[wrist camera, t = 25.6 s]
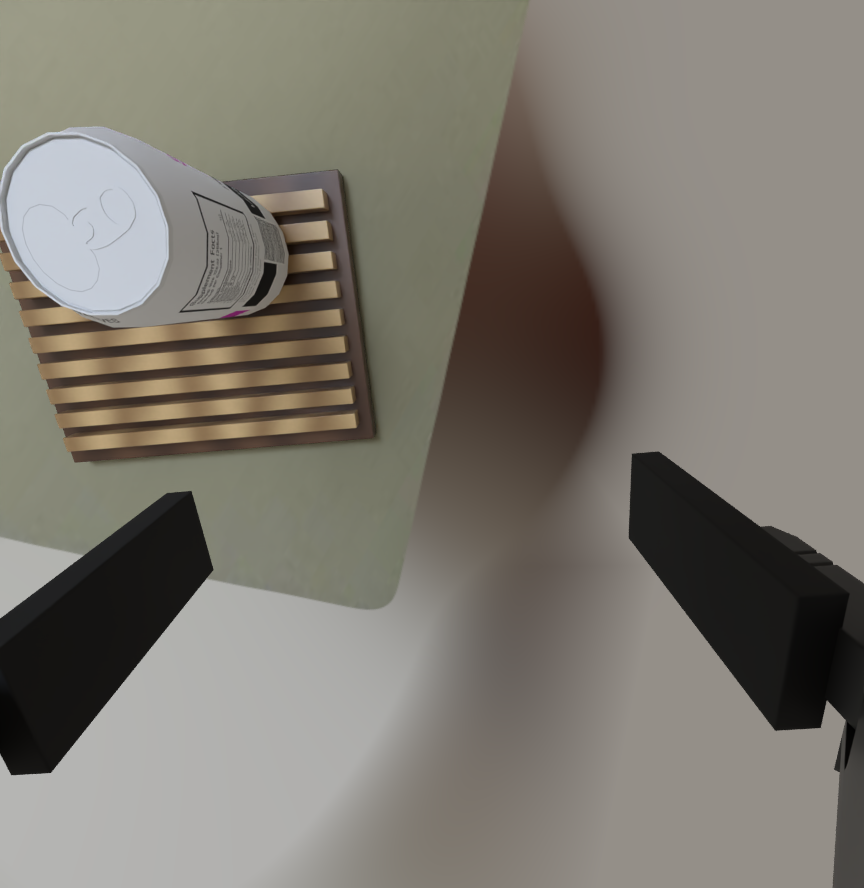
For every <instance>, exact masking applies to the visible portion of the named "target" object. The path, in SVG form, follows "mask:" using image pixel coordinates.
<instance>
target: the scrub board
mask: <svg viewBox="0 0 864 888" xmlns="http://www.w3.org/2000/svg"><path fill="white" fill-rule="evenodd" d="M223 183H225V184H226V185H228V186H230V187H232V188H234V189H236V190H238V191H240V192H242V193H244V194H246V195H248V196H250V197H252V198H253V199H255V200H256V201H257V202H258V203H259V204H261V205H262V206H263V207H264V208H265V209H267V210H268V211H269V212H270V213H271V214H272V216H273V218H274V219H275V221H276V222H277V224H278V225H279V227H280V229H281V230H282V232H283V235H284V239H285V242H286V246H287V250H288V254H289V256H288V272H287V277H286V280H285V282H284V284H283V286H282V289H281V291H280V293H279V295H278V296H277V297H276V298H275V299H274V300H273V301H272V302H271V303H270V304H269V305H268V306H267V307H266V308H263V309H261V310H259V311H256V312H254V313H251V314H249V315H242V316H234V317H225V318H217V319H208V320H200V321H191V322H183V323H174V324H166V325H157V326H149V327H115V328H113V327H110V326H107V325H104V324H102V323H99V322H96V321H93V320H90V319H87V318H84V317H82V316H80V315H79V314H78V313H76V312H75V311H73V310H72V309H69V308H66V307H63V306H61V305H60V304H58V303H57V302H55V301H54V300H53V299H51V298H50V297H48V296H47V295H46V294H44V293H43V292H41V291H40V290H39V289H37V288H36V287H35V286H34V285H33V284H32V283H31V281H30V280H29V279H28V278H27V276H26V275H25V274H24V273H23V271H22V270H21V269H20V268H19V266H18V265H17V264H16V263H15V261H14V259H13V257H12V255H11V253H10V250H9V248H8V246H7V243H6V241H5V239H4V236H3V234H2V232H1V227H0V247H1V250H2V253H0V258H1V261H2V264H3V267H4V270H5V271H9V273H10V276H11V279H12V282H11V283H9V284H10V287H11V290H12V293H13V296H14V298H15V299H16V300H19V302H20V305H21V308H22V311H19V313H20V316H21V319H22V321H23V324H24V327H28V328H29V331H30V334H31V337H32V338H28V339H29V342H30V345H31V348H32V351H33V353H34V354H38V357H39V360H40V363H41V364H37V366H38V368H39V371H40V374H41V377H42V379H43V380H44V379H46V381H47V384H48V386H49V389H47V390H46V391H47V394H48V397H49V400H50V403H51V404H55V407H56V410H57V414H55V417H56V420H57V423H58V426H59V428H63V430H64V433H65V436H66V437H65V438H63V440H64V443H65V446H66V449H67V451H68V452H71V453H72V456H73V459H74V462H88V461H100V460H112V459H124V458H136V457H149V456H161V455H173V454H185V453H197V452H210V451H222V450H234V449H246V448H258V447H271V446H283V445H295V444H307V443H320V442H332V441H344V440H356V439H368V438H374V436H375V434H376V430H375V422H374V414H373V407H372V399H371V392H370V384H369V376H368V369H367V361H366V354H365V346H364V338H363V331H362V323H361V316H360V308H359V300H358V293H357V285H356V278H355V270H354V262H353V255H352V247H351V240H350V232H349V224H348V217H347V209H346V202H345V194H344V186H343V179H342V174H341V173H340V172H339V171H338V170H329V171H319V172H310V173H300V174H291V175H281V176H272V177H262V178H253V179H243V180H234V181H224V182H223Z"/></svg>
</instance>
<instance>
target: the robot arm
mask: <svg viewBox="0 0 864 888" xmlns="http://www.w3.org/2000/svg"><path fill="white" fill-rule="evenodd" d="M629 539H630V540H631V541H632V543H633V544H634V545H635V546H636V548H637V549H638V551H639V552H640V553H641V555H642V556H643V557H644V558H645V560H646V561H647V562H648V564H649V565H650V566H651V568H652V569H653V570H654V571H655V573H656V574H657V576H658V577H659V578H660V580H661V581H662V582H663V584H664V585H665V586H666V588H667V589H668V590H669V591H670V593H671V594H672V595H673V597H674V598H675V599H676V601H677V602H678V603H679V605H680V606H681V607H682V609H683V610H684V611H685V612H686V614H687V615H688V616H689V618H690V619H691V620H692V622H693V623H694V624H695V626H696V627H697V628H698V630H699V631H700V632H701V634H702V635H703V636H704V637H705V639H706V640H707V641H708V643H709V644H710V645H711V646H712V648H713V649H714V651H715V652H716V653H717V655H718V656H719V657H720V659H721V660H722V661H723V662H724V664H725V665H726V666H727V668H728V669H729V670H730V672H731V673H732V674H733V675H734V677H735V678H736V679H737V681H738V682H739V684H740V685H741V686H742V687H743V689H744V690H745V691H746V693H747V694H748V695H749V697H750V698H751V699H752V701H753V702H754V703H755V705H756V706H757V707H758V709H759V710H760V711H761V712H762V714H763V715H764V716H765V718H766V719H767V720H768V722H769V723H770V724H771V725H772V727H773V728H774V730H776V731H777V730H792V729H810V728H821V724H822V719H823V714H824V710H825V705H826V701H828V702H829V703H830V704H831V705H832V706H833V707H834V708H835V709H836V710H837V711H838V712H839V713H840V714H841V715H842V716H843V718H844V719H845V720H846V722H845V726H844V730H843V734H842V738H841V743H840V747H839V751H838V755H837V760H836V764H835V768H834V770H836V771H838V772H840V777H839V796H838V810H837V826H836V842H835V858H834V875H833V888H864V584H863V583H862V582H861V581H859V580H858V579H856V578H855V577H854V576H852V575H851V574H849V573H848V572H846V571H845V570H844V569H842V568H841V567H839V566H838V565H833V562H832V561H831V560H829V559H828V558H826V557H825V556H823V555H822V554H820V553H817V552H816V550H814V549H813V548H812V547H811V546H809V545H808V544H806V543H805V542H803V541H802V540H800V539H799V538H798V537H796V536H793V535H791V534H789V533H786V532H784V531H781V530H779V529H776V528H774V527H772V526H765V527H760V526H758V525H757V524H756V523H754V522H753V521H752V520H750V519H749V518H748V517H746V516H745V515H743V514H742V513H741V512H740V511H738V510H737V509H735V508H734V507H733V506H731V505H730V504H729V503H727V502H726V501H725V500H723V499H722V498H721V497H719V496H718V495H717V494H715V493H714V492H713V491H711V490H710V489H708V488H707V487H706V486H705V485H703V484H702V483H700V482H699V481H698V480H696V479H695V478H694V477H692V476H691V475H690V474H688V473H687V472H686V471H684V470H683V469H681V468H680V467H679V466H678V465H676V464H675V463H674V462H672V461H671V460H670V459H668V458H667V457H666V456H664V455H662V454H661V453H660V452H648V453H636V454H632V467H631V492H630V518H629ZM212 571H213V566H212V563H211V559H210V555H209V552H208V548H207V545H206V541H205V538H204V534H203V530H202V527H201V523H200V520H199V516H198V513H197V509H196V506H195V502H194V498H193V495H192V491H186V492H175V493H166V494H165V495H164V496H162V497H161V498H160V499H158V500H157V501H156V502H154V503H153V504H152V505H150V506H149V507H148V508H146V509H145V510H144V511H142V512H141V513H140V514H139V515H137V516H136V517H135V518H133V519H132V520H131V521H129V522H128V523H127V524H125V525H124V526H123V527H121V528H120V529H119V530H117V531H116V532H115V533H113V534H112V535H111V536H109V537H108V538H107V539H105V540H104V541H103V542H101V543H100V544H99V545H97V546H96V547H95V548H93V549H92V550H91V551H89V552H88V553H87V554H85V555H84V556H83V557H82V558H80V559H79V560H77V561H76V562H75V563H73V564H72V565H71V566H69V567H68V568H67V569H66V570H64V571H63V572H62V573H60V574H59V575H58V576H56V577H55V578H54V579H52V580H51V581H50V582H48V583H47V584H46V585H44V586H43V587H42V588H40V589H39V590H38V591H36V592H35V593H34V594H32V595H31V596H30V597H28V598H27V599H26V600H24V601H23V602H22V603H20V604H19V605H18V606H16V607H15V608H14V609H12V610H11V611H10V612H8V613H7V614H6V615H4V616H3V617H2V618H0V754H1V756H2V758H3V760H4V762H5V763H6V766H7V767H8V770H9V772H10V773H11V775H23V774H41V773H51V772H52V770H54V768H55V767H56V766H57V765H58V763H59V762H60V761H61V760H62V758H63V757H64V756H65V754H66V753H67V752H68V751H69V750H70V748H71V747H72V746H73V745H74V743H75V742H76V741H77V740H78V738H79V737H80V736H81V735H82V733H83V732H84V731H85V730H86V728H87V727H88V726H89V725H90V723H91V722H92V721H93V720H94V718H95V717H96V716H97V715H98V713H99V712H100V711H101V709H102V708H103V707H104V706H105V704H106V703H107V702H108V701H109V700H110V698H111V697H112V696H113V694H114V693H115V692H116V691H117V690H118V688H119V687H120V686H121V684H122V683H123V682H124V681H125V680H126V678H127V677H128V676H129V675H130V673H131V672H132V671H133V670H134V668H135V667H136V666H137V664H138V663H139V662H140V661H141V659H142V658H143V657H144V656H145V655H146V653H147V652H148V651H149V649H150V648H151V647H152V646H153V645H154V643H155V642H156V641H157V640H158V638H159V637H160V636H161V635H162V633H163V632H164V631H165V630H166V628H167V627H168V626H169V625H170V623H171V622H172V621H173V619H174V618H175V617H176V616H177V615H178V613H179V612H180V611H181V610H182V608H183V607H184V606H185V605H186V603H187V602H188V601H189V600H190V598H191V597H192V596H193V595H194V593H195V592H196V591H197V590H198V588H199V587H200V586H201V585H202V583H203V582H204V581H205V580H206V578H207V577H208V576H209V575H210V573H211V572H212Z"/></svg>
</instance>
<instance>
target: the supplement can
mask: <svg viewBox="0 0 864 888" xmlns="http://www.w3.org/2000/svg"><path fill="white" fill-rule="evenodd" d="M0 227H1V232H2V234H3V236H4V239H5V241H6V243H7V246H8V248H9V250H10V253H11V255H12V257H13V259H14V261H15V263H16V264H17V265H18V266H19V268H20V269H21V270H22V271H23V273H24V274H25V275H26V276H27V278H28V279H29V280H30V281H31V283H32V284H33V285H34V286H35V287H36V288H37V289H39V290H40V291H41V292H43V293H44V294H46V295H47V296H48V297H50V298H51V299H53V300H54V301H55V302H57V303H58V304H60V305H61V306H63V307H66V308H69V309H72V310H73V311H75V312H76V313H78V314H79V315H80V316H82V317H84V318H87V319H90V320H93V321H96V322H99V323H102V324H104V325H107V326H110V327H113V328H115V327H149V326H157V325H166V324H174V323H183V322H191V321H200V320H208V319H217V318H225V317H234V316H242V315H249V314H251V313H254V312H256V311H259V310H261V309H263V308H266V307H267V306H268V305H269V304H270V303H271V302H272V301H273V300H274V299H275V298H276V297H277V296H278V295H279V293H280V291H281V289H282V286H283V284H284V282H285V280H286V277H287V272H288V256H289V254H288V250H287V246H286V242H285V239H284V235H283V232H282V230H281V229H280V227H279V225H278V224H277V222H276V221H275V219H274V218H273V216H272V214H271V213H270V212H269V211H268V210H267V209H265V208H264V207H263V206H262V205H261V204H259V203H258V202H257V201H256V200H255V199H253V198H252V197H250V196H248V195H246V194H244V193H242V192H240V191H238V190H236V189H234V188H232V187H230V186H228V185H226V184H225V183H223V182H221V181H219V180H217V179H215V178H213V177H211V176H209V175H207V174H205V173H203V172H201V171H199V170H197V169H195V168H193V167H191V166H189V165H187V164H185V163H183V162H181V161H180V160H178V159H176V158H174V157H172V156H170V155H168V154H166V153H164V152H162V151H160V150H158V149H156V148H154V147H152V146H150V145H148V144H146V143H144V142H142V141H140V140H138V139H136V138H133V137H130V136H128V135H125V134H122V133H120V132H117V131H114V130H112V129H109V128H106V127H70V128H68V129H65V130H63V131H61V132H48V133H46V134H44V135H42V136H40V137H37V138H35V139H33V140H31V141H29V142H27V143H25V144H23V145H22V146H21V147H20V148H19V150H18V151H17V152H16V154H15V155H14V156H13V157H12V159H11V160H10V161H9V163H8V164H7V165H6V167H5V168H4V172H3V176H2V180H1V184H0Z"/></svg>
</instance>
